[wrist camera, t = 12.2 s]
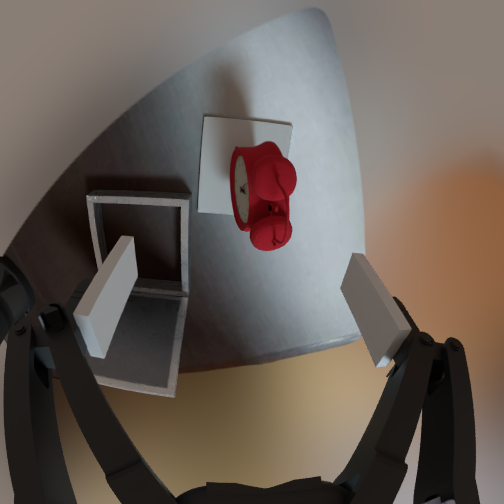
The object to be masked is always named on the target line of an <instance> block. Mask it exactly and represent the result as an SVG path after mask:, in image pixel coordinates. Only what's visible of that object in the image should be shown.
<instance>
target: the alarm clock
mask: <svg viewBox="0 0 504 504" xmlns="http://www.w3.org/2000/svg"><path fill="white" fill-rule="evenodd" d="M296 182H297V176H296V171H295V168H294V166H293V164H292V163H291V162H290V161H289V160H288V159H287V158H285V157H283V155H282V152H281V151H280V149H279V147H278V146H277V145H276V144H275V143H274V142H272V141H265V142H263V143H261V144H259V145H257V146H254V147H239V148H238V147H237V146H236V147H235V150H234V151H233V153H232V157H231V163H230V194H231V202H232V208H233V213H234V217H235V220H236V223H237V225H238V227H239V229H240V230H242V231H246V232H248V231H250V240H251V242H252V244H253V246H254V247H255V248H257V249H259V250H262V251H271V250H275V249H278V248H280V247H282V246H284V245H285V244H286V243H287V242H288V241H289V239H290V238H291V234H292V226H291V223H290V221H289V196H290V195H291V194H292V193H293V191H294V189H295V186H296Z"/></svg>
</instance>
